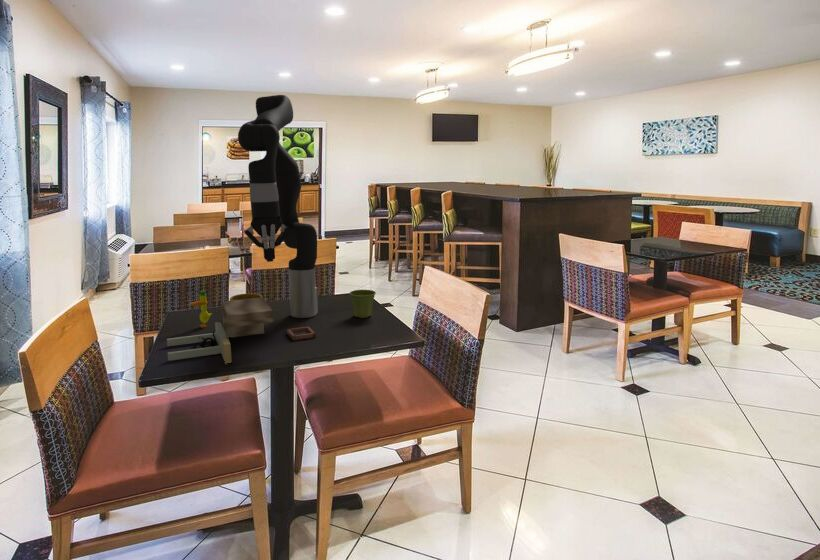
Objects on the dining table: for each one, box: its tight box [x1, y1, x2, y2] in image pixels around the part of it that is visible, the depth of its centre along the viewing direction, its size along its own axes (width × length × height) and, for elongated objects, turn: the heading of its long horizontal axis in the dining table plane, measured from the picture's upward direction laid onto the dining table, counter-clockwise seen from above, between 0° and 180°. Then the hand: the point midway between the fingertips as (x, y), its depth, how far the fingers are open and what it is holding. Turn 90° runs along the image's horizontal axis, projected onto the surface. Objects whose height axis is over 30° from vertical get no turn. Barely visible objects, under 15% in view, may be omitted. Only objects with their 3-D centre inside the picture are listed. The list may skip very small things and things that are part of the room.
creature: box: [190, 331, 218, 350], centre depth 143 cm, size 8×5×8 cm
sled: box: [166, 321, 233, 365], centre depth 139 cm, size 15×24×6 cm, turn 26°
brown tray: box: [286, 326, 316, 341], centre depth 157 cm, size 7×8×1 cm
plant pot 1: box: [229, 292, 263, 301], centre depth 168 cm, size 10×10×10 cm
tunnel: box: [221, 297, 274, 339], centre depth 149 cm, size 12×17×12 cm
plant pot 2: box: [349, 289, 377, 319], centre depth 179 cm, size 9×9×9 cm
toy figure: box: [189, 291, 213, 329], centre depth 165 cm, size 7×4×12 cm, turn 126°
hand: (269, 261), depth 141 cm, fingers closed
